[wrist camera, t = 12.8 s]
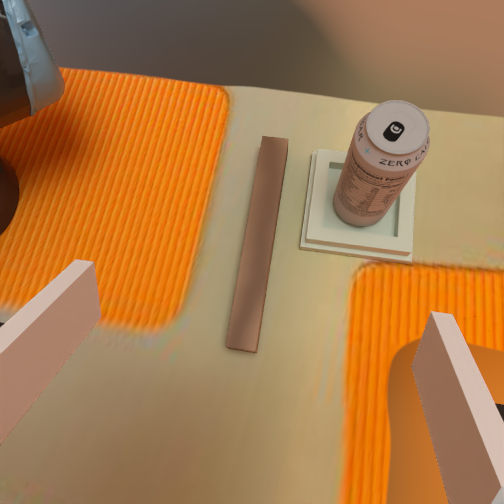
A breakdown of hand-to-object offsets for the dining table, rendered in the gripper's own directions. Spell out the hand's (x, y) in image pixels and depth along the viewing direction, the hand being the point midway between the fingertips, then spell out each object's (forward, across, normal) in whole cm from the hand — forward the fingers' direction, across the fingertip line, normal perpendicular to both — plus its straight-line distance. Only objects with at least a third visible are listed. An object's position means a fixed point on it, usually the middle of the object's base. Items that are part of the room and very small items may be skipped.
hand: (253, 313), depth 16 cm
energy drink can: (+31, +8, -7) cm, 33 cm away
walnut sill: (+28, -2, -11) cm, 30 cm away
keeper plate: (+32, +8, -7) cm, 34 cm away
